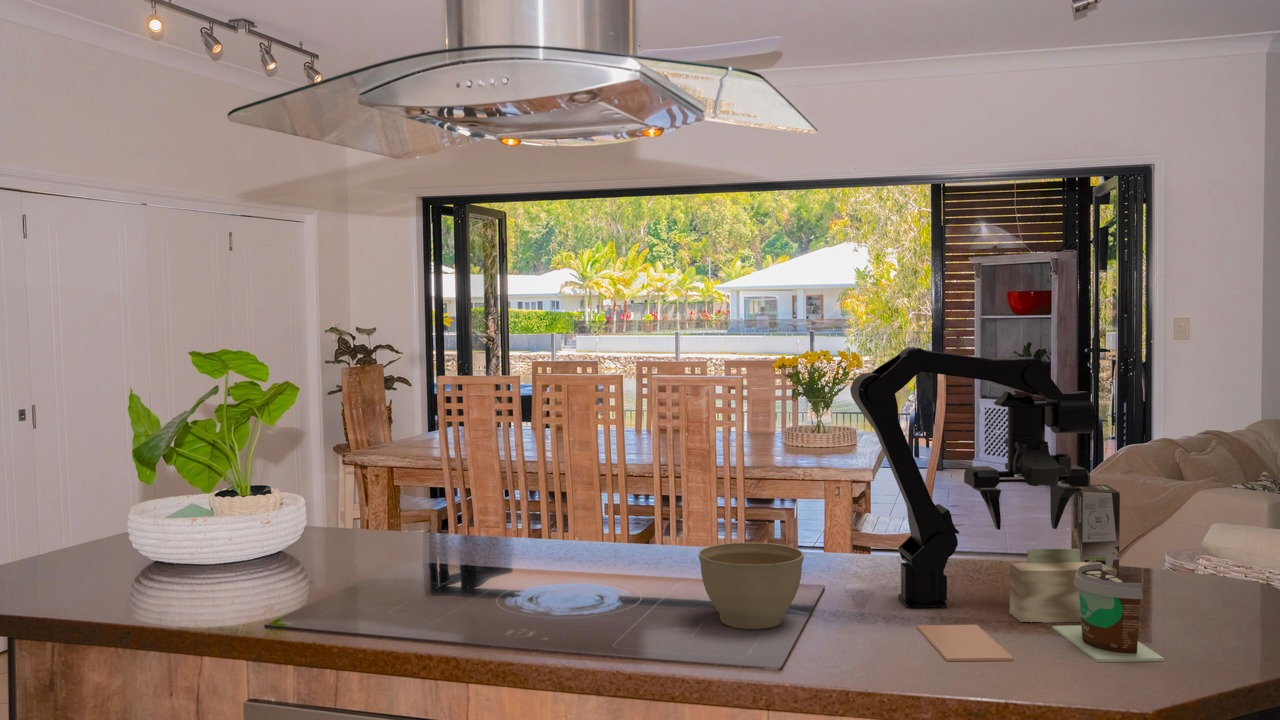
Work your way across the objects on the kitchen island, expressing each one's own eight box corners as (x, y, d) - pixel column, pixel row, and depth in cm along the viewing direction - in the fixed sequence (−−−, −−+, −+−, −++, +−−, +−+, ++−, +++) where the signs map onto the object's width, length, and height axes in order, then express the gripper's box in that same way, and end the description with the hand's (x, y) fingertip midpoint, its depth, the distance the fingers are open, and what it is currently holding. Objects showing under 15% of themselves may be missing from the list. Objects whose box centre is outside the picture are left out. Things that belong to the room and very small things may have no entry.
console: (1021, 622, 155) (1021, 557, 155) (1008, 612, 161) (1008, 549, 160) (1113, 621, 155) (1113, 556, 155) (1096, 611, 161) (1097, 548, 160)
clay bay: (947, 661, 138) (947, 658, 138) (917, 628, 153) (917, 625, 153) (1013, 660, 138) (1013, 657, 138) (976, 627, 153) (976, 624, 153)
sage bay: (1097, 662, 137) (1097, 659, 137) (1052, 628, 152) (1052, 625, 152) (1164, 661, 137) (1164, 658, 137) (1112, 627, 152) (1112, 625, 152)
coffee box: (1120, 584, 176) (1121, 492, 176) (1081, 583, 178) (1081, 491, 177) (1107, 571, 185) (1108, 483, 185) (1070, 570, 187) (1070, 483, 186)
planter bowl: (824, 620, 158) (824, 551, 157) (760, 645, 146) (759, 570, 146) (743, 601, 169) (743, 536, 169) (678, 622, 158) (677, 553, 157)
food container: (1058, 630, 150) (1058, 563, 149) (1100, 629, 150) (1100, 562, 150) (1097, 657, 138) (1097, 584, 137) (1142, 657, 138) (1143, 584, 137)
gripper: (985, 440, 157) (985, 540, 158) (1106, 438, 157) (1105, 538, 158) (962, 432, 169) (963, 525, 169) (1075, 431, 169) (1075, 524, 169)
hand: (1026, 528), depth 166 cm, fingers open, 9 cm apart
